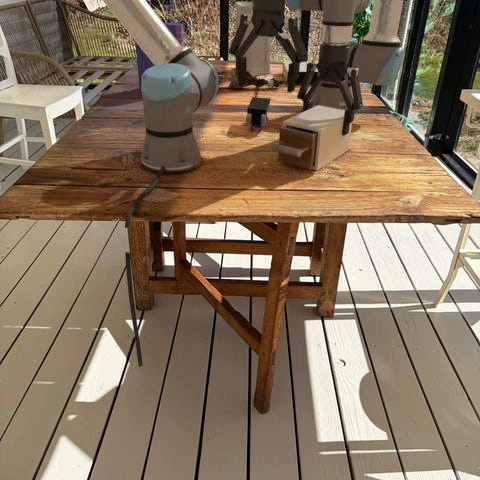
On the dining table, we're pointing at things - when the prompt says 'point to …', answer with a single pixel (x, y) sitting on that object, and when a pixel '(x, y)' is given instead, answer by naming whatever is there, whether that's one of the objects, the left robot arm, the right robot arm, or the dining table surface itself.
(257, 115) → the figurine character
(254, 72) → the tall white carton
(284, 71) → the disc drive
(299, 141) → the drawer
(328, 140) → the cabinet
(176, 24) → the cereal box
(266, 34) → the left robot arm
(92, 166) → the dining table surface
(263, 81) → the figurine
